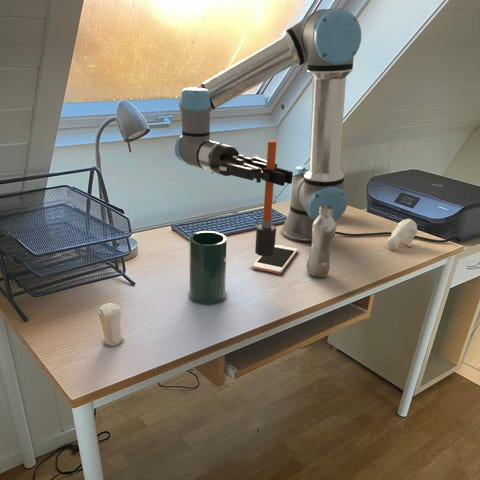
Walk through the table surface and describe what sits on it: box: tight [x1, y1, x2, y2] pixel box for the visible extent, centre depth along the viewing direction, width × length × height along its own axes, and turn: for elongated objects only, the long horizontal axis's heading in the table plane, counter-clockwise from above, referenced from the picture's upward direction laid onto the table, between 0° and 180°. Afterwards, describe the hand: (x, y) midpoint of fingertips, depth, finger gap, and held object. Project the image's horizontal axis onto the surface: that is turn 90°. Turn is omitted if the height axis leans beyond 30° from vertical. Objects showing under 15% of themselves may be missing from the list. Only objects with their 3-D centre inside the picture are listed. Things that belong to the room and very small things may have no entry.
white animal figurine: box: [386, 218, 418, 250], centre depth 156 cm, size 6×8×12 cm
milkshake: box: [97, 302, 122, 347], centre depth 102 cm, size 5×5×10 cm
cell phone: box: [251, 244, 298, 275], centre depth 144 cm, size 9×18×1 cm, turn 158°
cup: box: [188, 230, 227, 305], centre depth 120 cm, size 9×9×16 cm
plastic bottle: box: [306, 205, 337, 278], centre depth 132 cm, size 6×7×20 cm
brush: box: [254, 139, 278, 257], centre depth 118 cm, size 5×5×28 cm
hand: (287, 178), depth 111 cm, fingers closed on brush, 2 cm apart
